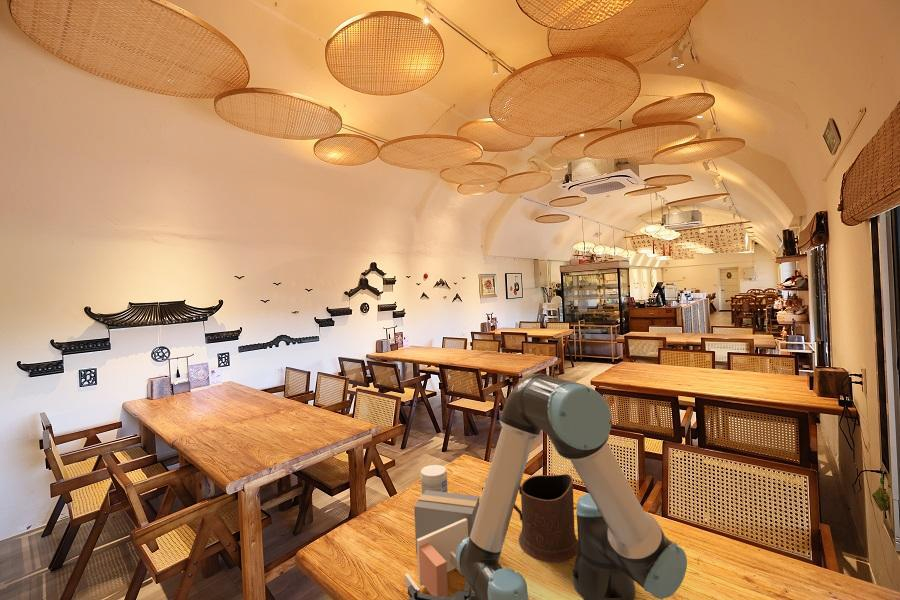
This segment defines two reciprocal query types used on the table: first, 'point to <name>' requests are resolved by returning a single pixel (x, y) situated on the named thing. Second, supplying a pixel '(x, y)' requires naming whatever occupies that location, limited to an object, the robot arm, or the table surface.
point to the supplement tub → (434, 478)
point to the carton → (443, 511)
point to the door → (439, 556)
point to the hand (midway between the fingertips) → (429, 567)
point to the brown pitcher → (548, 518)
